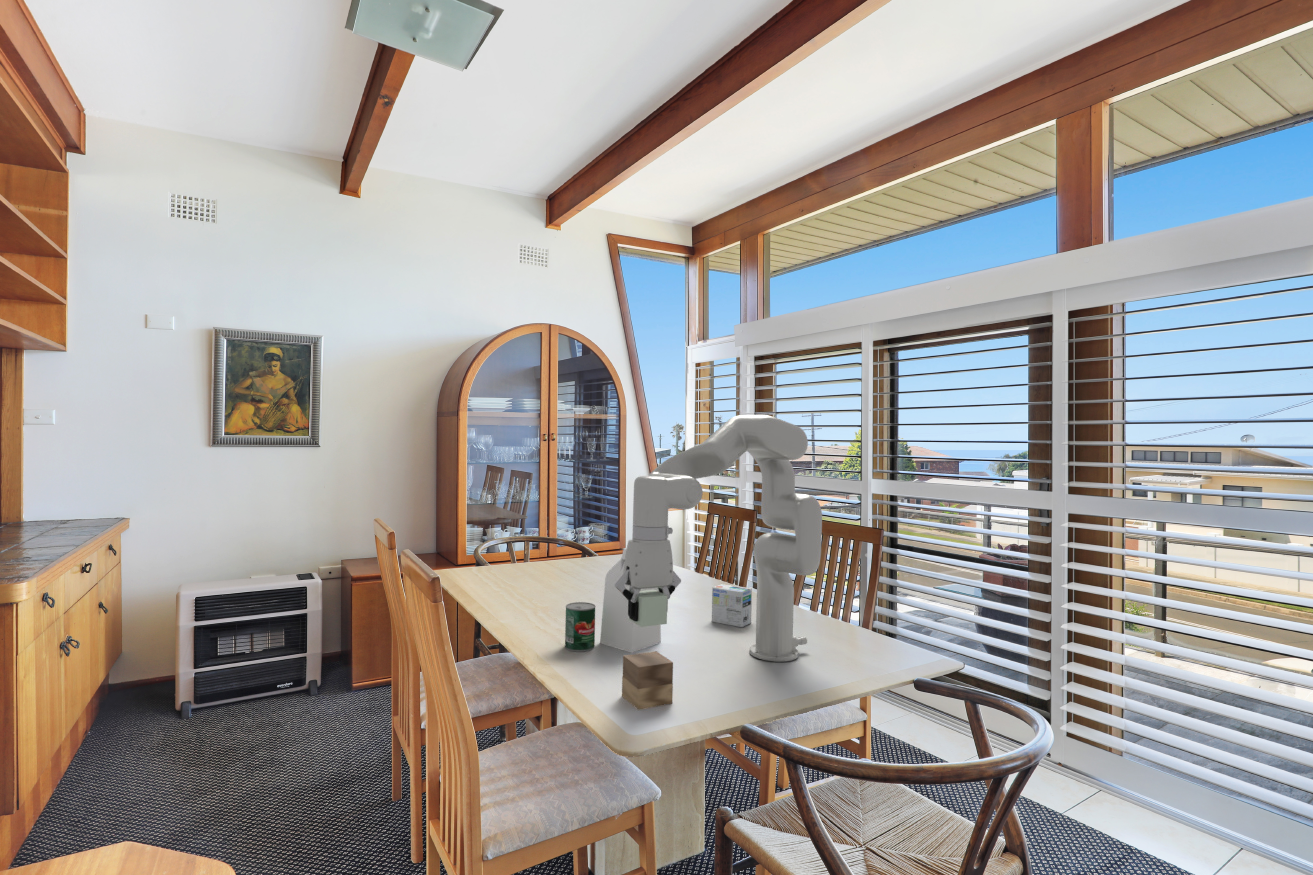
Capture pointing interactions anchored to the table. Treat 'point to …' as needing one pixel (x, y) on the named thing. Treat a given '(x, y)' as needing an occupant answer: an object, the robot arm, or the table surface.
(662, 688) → the oak slab
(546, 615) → the table surface
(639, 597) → the sage cube
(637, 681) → the walnut slab
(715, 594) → the light bulb box
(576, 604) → the canned tomato
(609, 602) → the milk
